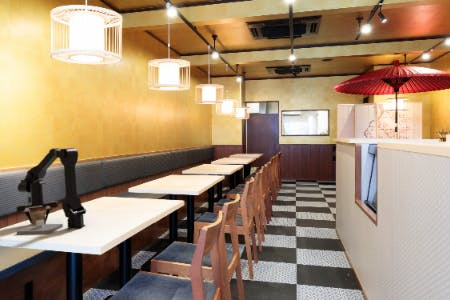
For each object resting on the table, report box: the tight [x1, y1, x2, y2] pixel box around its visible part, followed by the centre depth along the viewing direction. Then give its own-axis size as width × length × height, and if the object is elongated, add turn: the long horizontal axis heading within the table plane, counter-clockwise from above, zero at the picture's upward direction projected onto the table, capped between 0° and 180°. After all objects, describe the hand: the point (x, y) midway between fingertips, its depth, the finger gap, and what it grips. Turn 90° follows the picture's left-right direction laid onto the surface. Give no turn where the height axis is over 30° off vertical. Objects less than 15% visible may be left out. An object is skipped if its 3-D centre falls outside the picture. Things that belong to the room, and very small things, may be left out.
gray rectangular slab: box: [16, 223, 64, 235], centre depth 166 cm, size 16×12×2 cm
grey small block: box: [36, 220, 44, 228], centre depth 166 cm, size 3×1×4 cm, turn 88°
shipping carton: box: [30, 210, 47, 225], centre depth 178 cm, size 6×6×6 cm
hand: (38, 222), depth 178 cm, fingers closed on shipping carton, 6 cm apart
